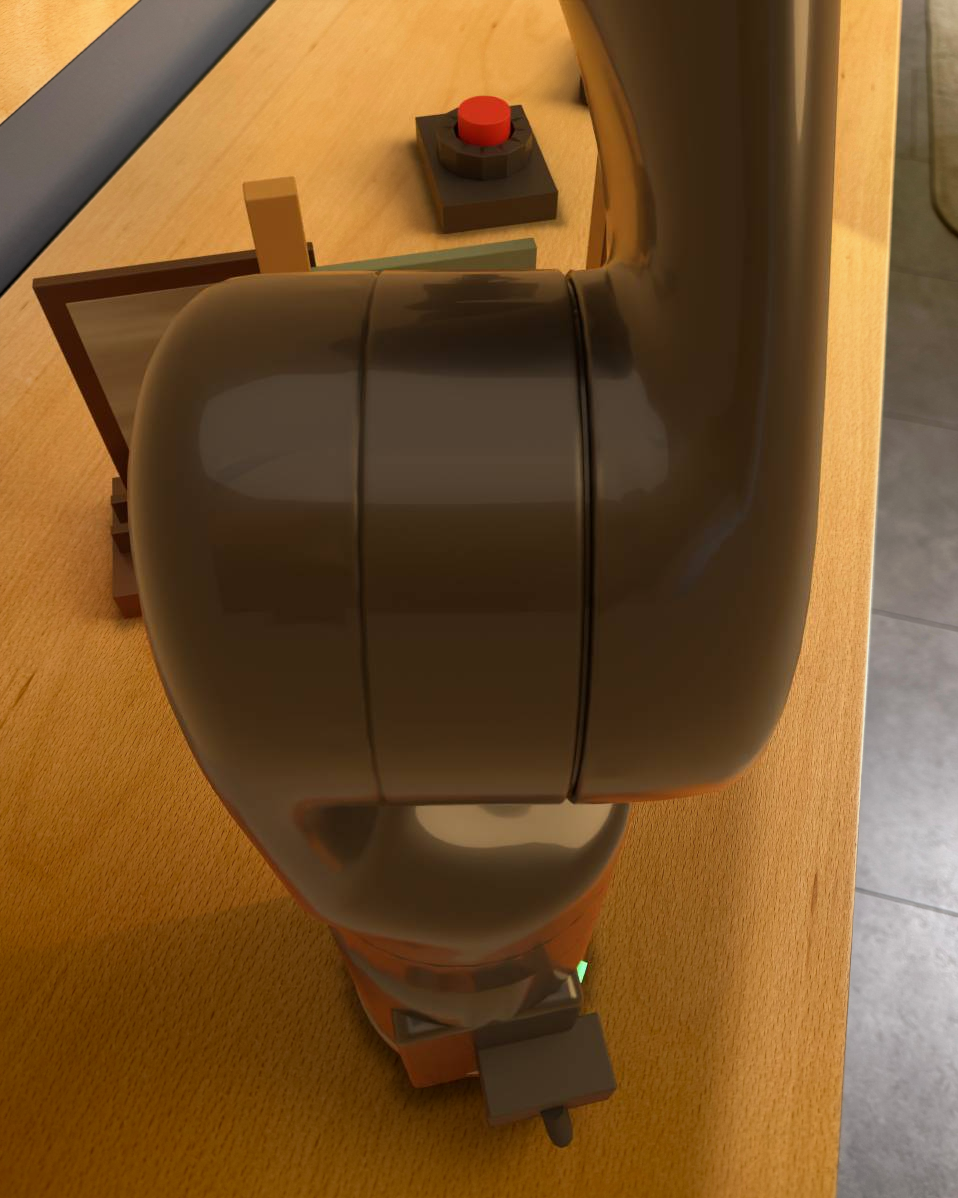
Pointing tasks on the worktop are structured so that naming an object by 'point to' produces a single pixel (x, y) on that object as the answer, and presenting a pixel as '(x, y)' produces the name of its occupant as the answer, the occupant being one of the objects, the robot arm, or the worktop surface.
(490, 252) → the sash
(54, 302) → the window frame
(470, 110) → the button
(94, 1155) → the worktop surface
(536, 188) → the button box
